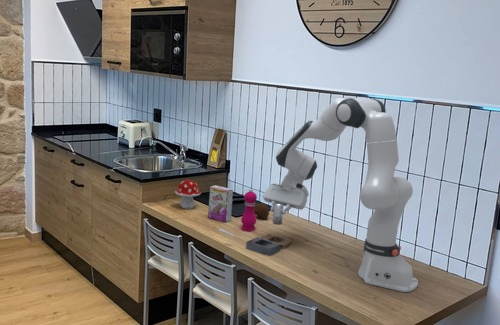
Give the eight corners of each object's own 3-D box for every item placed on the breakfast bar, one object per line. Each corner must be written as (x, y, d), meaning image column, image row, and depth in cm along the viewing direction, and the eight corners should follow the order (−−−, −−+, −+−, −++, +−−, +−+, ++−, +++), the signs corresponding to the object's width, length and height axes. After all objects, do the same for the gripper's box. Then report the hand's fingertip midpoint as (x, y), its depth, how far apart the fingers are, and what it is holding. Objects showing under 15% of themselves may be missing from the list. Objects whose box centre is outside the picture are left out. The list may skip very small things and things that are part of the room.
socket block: (280, 250, 219) (280, 243, 218) (269, 255, 212) (270, 249, 212) (256, 243, 226) (257, 237, 225) (246, 248, 219) (246, 241, 218)
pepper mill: (254, 232, 240) (257, 191, 236) (239, 230, 241) (241, 189, 237) (257, 228, 247) (260, 187, 243) (242, 226, 248) (245, 186, 244)
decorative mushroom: (205, 206, 277) (206, 179, 274) (191, 212, 264) (193, 184, 261) (183, 202, 282) (184, 175, 279) (169, 208, 270) (170, 180, 267)
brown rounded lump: (263, 221, 258) (264, 206, 256) (249, 216, 264) (250, 201, 263) (272, 219, 263) (273, 204, 262) (258, 214, 270) (259, 199, 268)
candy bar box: (207, 218, 257) (209, 186, 254) (213, 216, 261) (215, 184, 258) (225, 223, 251) (227, 190, 248) (231, 220, 255) (233, 189, 252)
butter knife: (221, 228, 243) (216, 229, 241) (254, 243, 225) (249, 244, 223) (221, 229, 243) (216, 230, 241) (254, 244, 225) (249, 245, 223)
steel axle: (283, 223, 226) (285, 203, 224) (278, 225, 222) (280, 205, 221) (276, 221, 228) (277, 201, 226) (271, 223, 225) (272, 203, 223)
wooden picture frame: (291, 244, 227) (292, 240, 227) (282, 249, 220) (282, 245, 220) (269, 238, 234) (269, 234, 233) (258, 242, 227) (259, 238, 226)
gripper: (268, 178, 233) (255, 203, 227) (308, 187, 222) (295, 213, 216) (273, 186, 238) (260, 211, 232) (312, 195, 226) (299, 221, 220)
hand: (277, 212), depth 224 cm, fingers closed on steel axle, 4 cm apart
